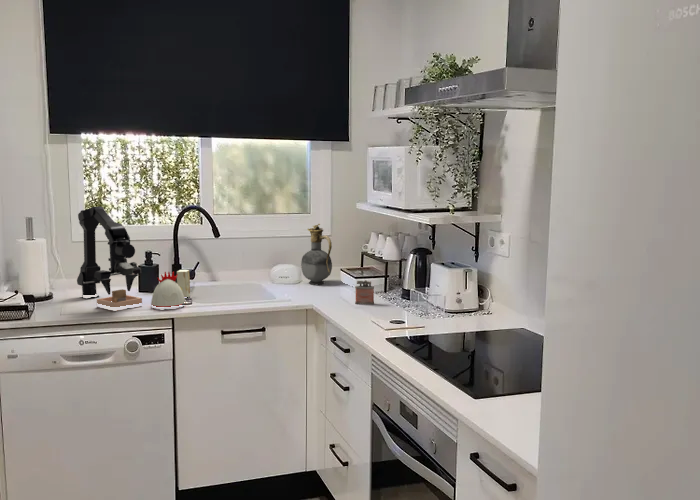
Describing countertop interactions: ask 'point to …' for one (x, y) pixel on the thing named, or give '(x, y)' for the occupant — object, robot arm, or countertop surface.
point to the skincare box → (184, 281)
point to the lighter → (364, 293)
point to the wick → (118, 295)
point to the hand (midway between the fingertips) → (119, 292)
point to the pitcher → (317, 258)
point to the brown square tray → (120, 301)
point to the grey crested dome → (167, 292)
